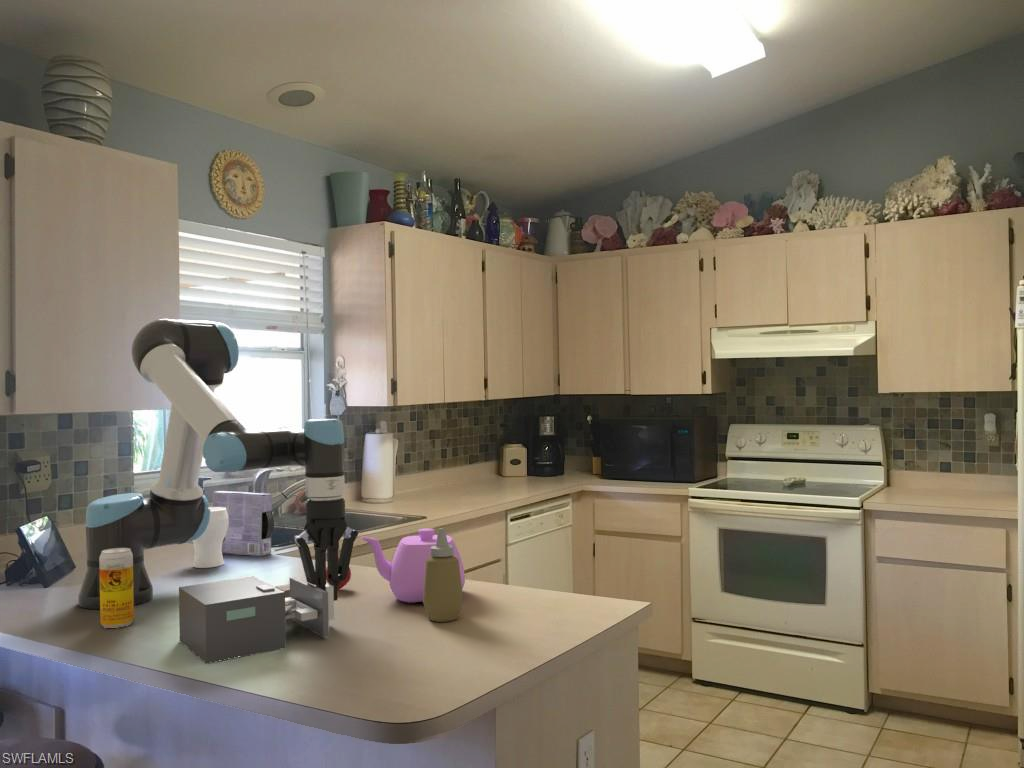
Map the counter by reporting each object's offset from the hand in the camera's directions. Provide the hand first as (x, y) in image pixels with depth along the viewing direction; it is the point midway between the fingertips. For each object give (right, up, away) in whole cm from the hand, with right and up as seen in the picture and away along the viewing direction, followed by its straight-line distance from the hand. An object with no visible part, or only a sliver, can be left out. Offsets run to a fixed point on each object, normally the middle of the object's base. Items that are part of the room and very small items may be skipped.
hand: (327, 618), depth 167 cm
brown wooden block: (-9, -2, +8) cm, 12 cm away
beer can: (-43, -3, +4) cm, 43 cm away
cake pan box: (-41, -3, +78) cm, 88 cm away
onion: (-4, -2, +30) cm, 31 cm away
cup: (-45, -3, +62) cm, 77 cm away
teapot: (+17, -2, +22) cm, 27 cm away
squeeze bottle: (+22, -1, +4) cm, 23 cm away
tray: (-8, -1, -6) cm, 10 cm away
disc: (-9, +3, -6) cm, 11 cm away
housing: (-15, -2, -11) cm, 19 cm away
